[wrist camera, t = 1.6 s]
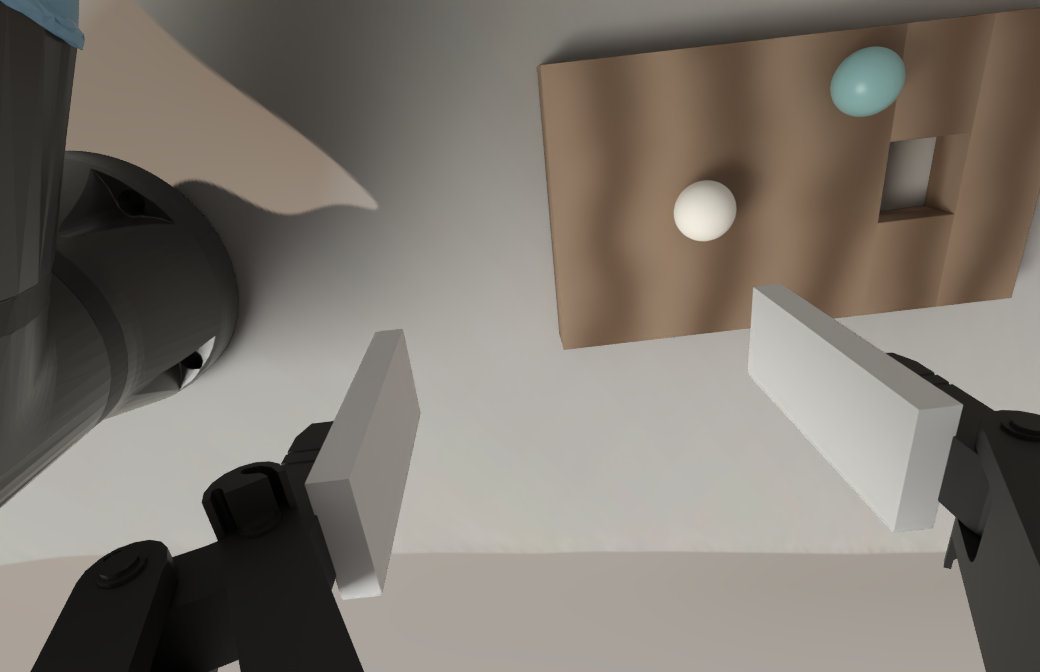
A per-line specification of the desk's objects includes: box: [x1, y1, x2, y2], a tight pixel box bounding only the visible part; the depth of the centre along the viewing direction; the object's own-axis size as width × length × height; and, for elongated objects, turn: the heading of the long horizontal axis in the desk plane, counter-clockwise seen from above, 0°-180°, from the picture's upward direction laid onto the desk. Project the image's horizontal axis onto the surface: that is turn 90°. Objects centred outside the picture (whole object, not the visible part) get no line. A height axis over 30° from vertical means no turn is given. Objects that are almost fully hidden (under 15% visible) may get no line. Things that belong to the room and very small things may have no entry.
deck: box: [537, 8, 1040, 350], centre depth 33 cm, size 28×16×2 cm, turn 96°
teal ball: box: [830, 46, 906, 117], centre depth 28 cm, size 3×3×3 cm
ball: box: [674, 180, 736, 241], centre depth 30 cm, size 3×3×3 cm
